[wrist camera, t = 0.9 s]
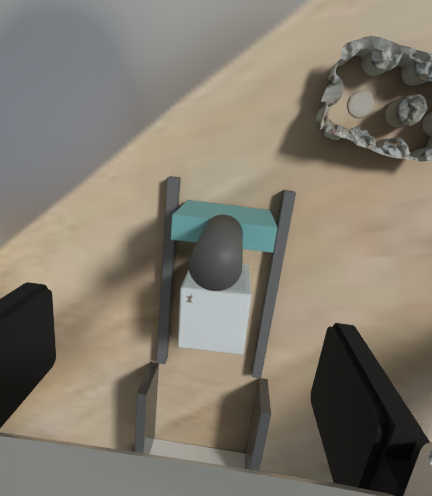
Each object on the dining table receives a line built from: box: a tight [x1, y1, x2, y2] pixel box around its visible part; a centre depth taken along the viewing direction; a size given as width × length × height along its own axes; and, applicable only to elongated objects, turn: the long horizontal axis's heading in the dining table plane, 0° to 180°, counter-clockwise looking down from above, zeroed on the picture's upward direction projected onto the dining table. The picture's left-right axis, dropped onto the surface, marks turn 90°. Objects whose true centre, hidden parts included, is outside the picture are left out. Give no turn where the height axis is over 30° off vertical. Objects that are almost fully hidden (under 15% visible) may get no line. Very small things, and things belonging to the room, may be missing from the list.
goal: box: [135, 362, 271, 471], centre depth 35 cm, size 14×13×8 cm
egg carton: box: [315, 36, 432, 161], centre depth 25 cm, size 11×8×4 cm
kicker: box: [171, 200, 277, 291], centre depth 24 cm, size 8×3×14 cm, turn 84°
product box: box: [178, 263, 252, 355], centre depth 30 cm, size 6×6×7 cm
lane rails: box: [157, 176, 296, 378], centre depth 33 cm, size 12×21×1 cm, turn 174°
